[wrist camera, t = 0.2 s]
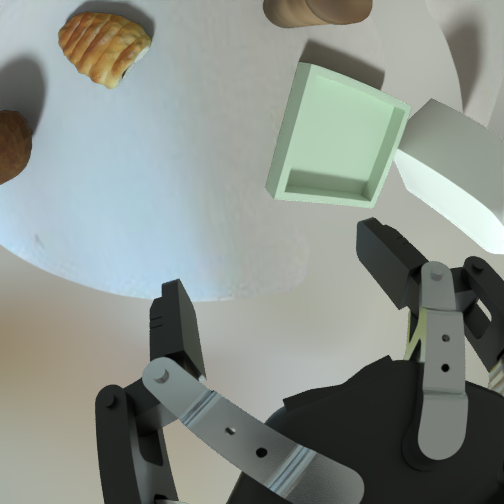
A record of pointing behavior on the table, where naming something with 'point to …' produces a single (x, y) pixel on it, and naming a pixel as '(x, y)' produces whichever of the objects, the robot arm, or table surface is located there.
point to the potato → (13, 144)
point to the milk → (456, 171)
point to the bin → (335, 140)
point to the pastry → (103, 46)
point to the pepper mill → (316, 12)
